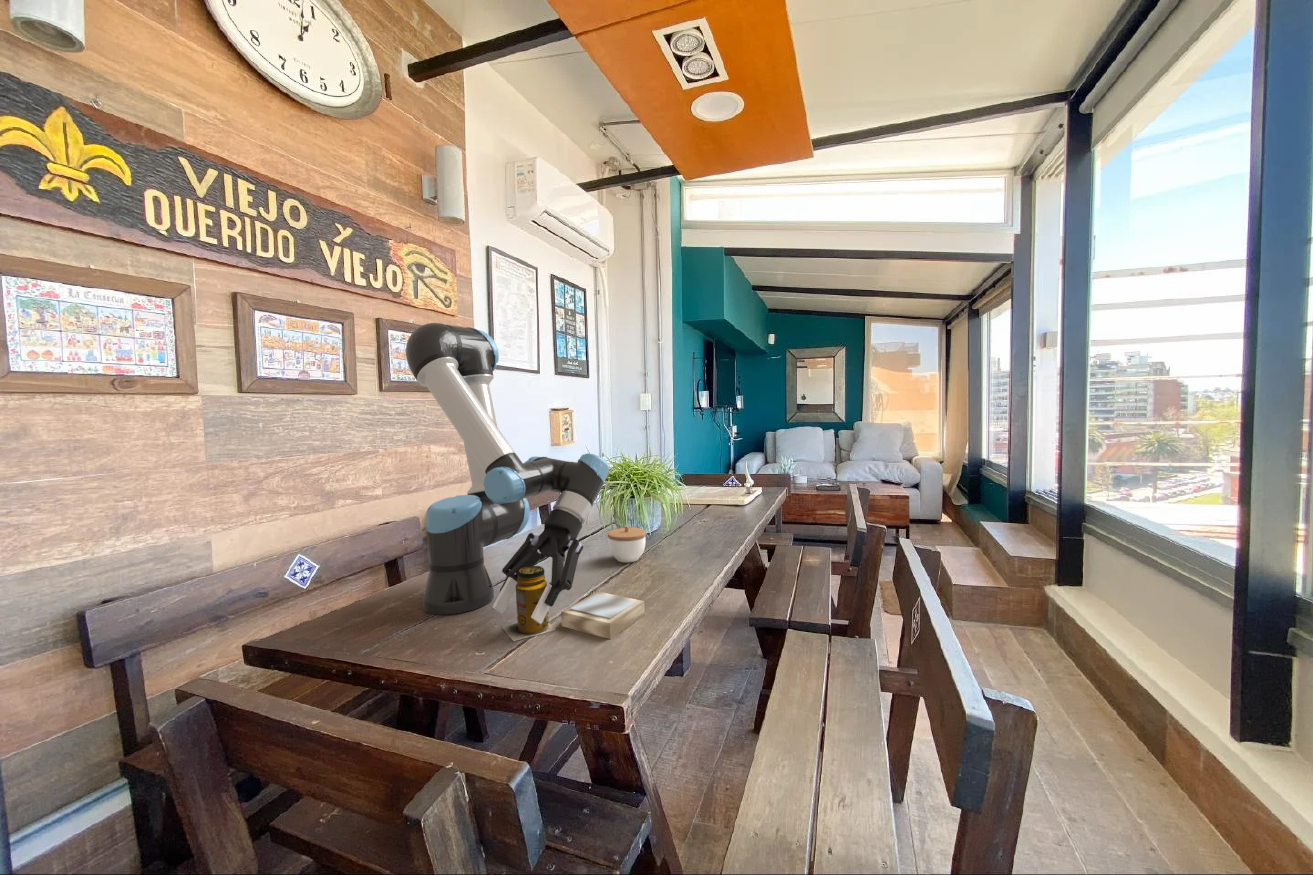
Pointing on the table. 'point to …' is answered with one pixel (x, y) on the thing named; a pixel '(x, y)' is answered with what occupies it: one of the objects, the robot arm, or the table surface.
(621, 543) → the lidded jar
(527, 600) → the condiment
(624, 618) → the plinth
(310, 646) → the table surface
